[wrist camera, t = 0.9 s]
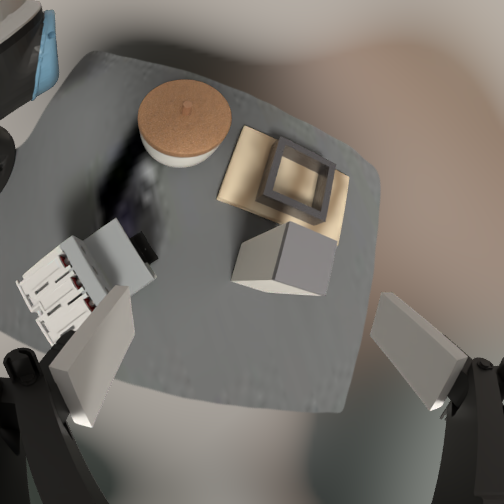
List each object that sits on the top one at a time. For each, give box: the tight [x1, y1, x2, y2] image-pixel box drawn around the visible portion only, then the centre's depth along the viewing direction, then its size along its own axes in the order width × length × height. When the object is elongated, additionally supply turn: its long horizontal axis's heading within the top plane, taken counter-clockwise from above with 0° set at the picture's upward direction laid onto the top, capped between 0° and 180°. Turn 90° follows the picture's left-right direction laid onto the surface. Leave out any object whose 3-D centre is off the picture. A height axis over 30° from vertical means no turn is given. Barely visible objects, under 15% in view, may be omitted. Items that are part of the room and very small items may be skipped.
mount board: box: [217, 126, 349, 246], centre depth 45 cm, size 22×14×1 cm, turn 74°
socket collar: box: [255, 136, 336, 226], centre depth 43 cm, size 11×11×4 cm
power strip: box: [231, 221, 338, 296], centre depth 35 cm, size 6×6×16 cm
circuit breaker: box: [16, 218, 158, 346], centre depth 28 cm, size 8×14×15 cm, turn 126°
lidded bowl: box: [138, 80, 232, 168], centre depth 35 cm, size 13×13×11 cm
